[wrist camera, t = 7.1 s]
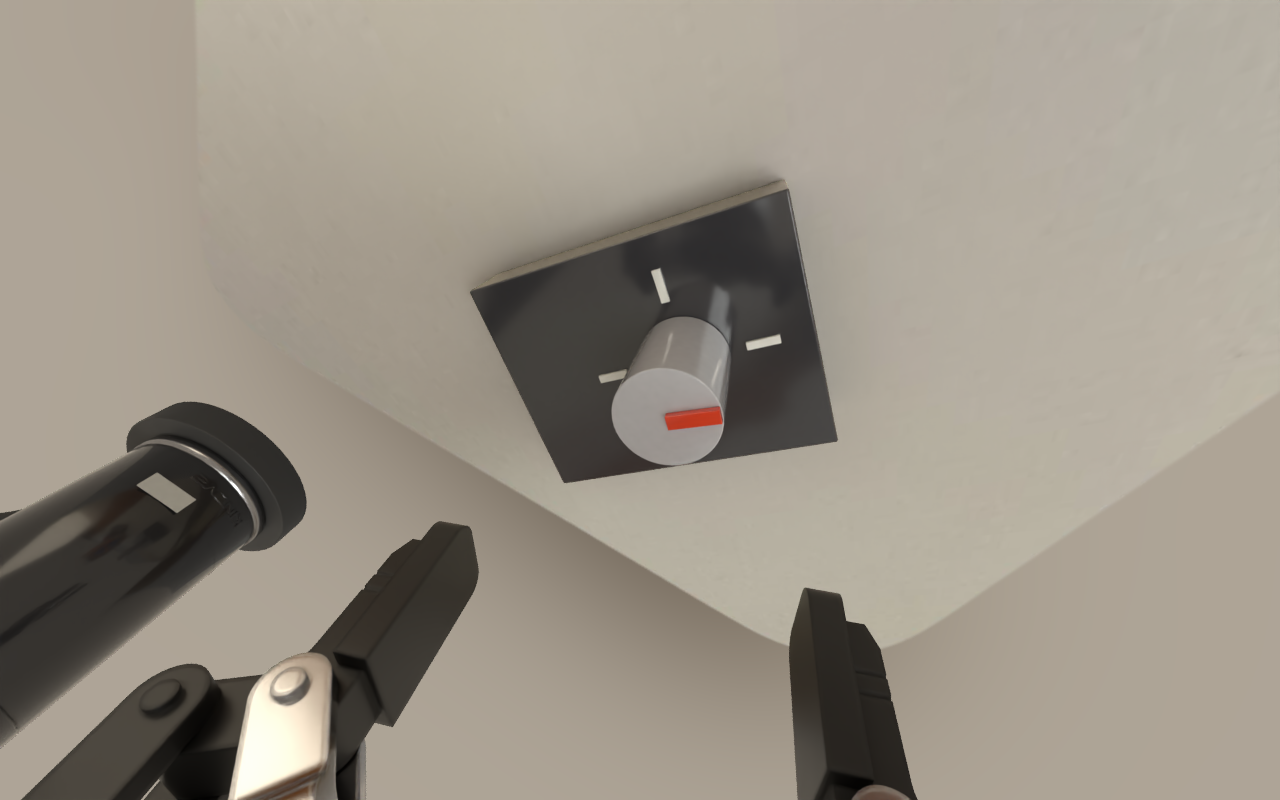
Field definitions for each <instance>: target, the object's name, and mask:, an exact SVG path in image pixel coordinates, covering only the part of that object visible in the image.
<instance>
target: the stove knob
mask: <svg viewBox="0 0 1280 800" xmlns="http://www.w3.org/2000/svg"><path fill="white" fill-rule="evenodd" d="M730 371H731V352H730V349H729V346H728V344H727V342H726V340H725V338H724V337H723V336H722V334H721V333H720V332H719V331H718V330H717V329H716V328H715V327H713V326H712V325H710V324H709V323H707V322H705V321H703V320H700V319H697V318H693V317H674V318H670V319H667V320H664V321H662V322H660V323H658V324H657V325H656V326H654V327H653V328H652V329H651V330H650V331H649V332H648V333H647V335H646V336H645V338H644V340H643V342H642V344H641V346H640V348H639V349H638V351H637V353H636V355H635V357H634V359H633V361H632V363H631V365H630V367H629V369H628V371H627V373H626V374H625V376H624V378H623V380H622V382H621V384H620V386H619V388H618V390H617V392H616V394H615V396H614V399H613V402H612V411H611V414H612V421H613V425H614V428H615V430H616V432H617V434H618V436H619V438H620V439H621V440H622V442H623V443H624V444H625V445H626V446H627V447H628V448H629V449H630V450H631V451H633V452H634V453H635V454H637V455H638V456H640V457H642V458H644V459H646V460H648V461H651V462H654V463H657V464H662V465H684V464H688V463H692V462H695V461H697V460H699V459H701V458H703V457H704V456H706V455H707V454H708V453H710V452H711V451H712V450H713V449H714V448H715V446H716V445H717V444H718V442H719V440H720V438H721V436H722V433H723V428H724V421H725V412H726V404H727V396H728V387H729V379H730Z"/></svg>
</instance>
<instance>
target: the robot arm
mask: <svg viewBox="0 0 1280 800" xmlns="http://www.w3.org/2000/svg"><path fill="white" fill-rule="evenodd" d="M265 522H266V516H265V511H264V507H263V505H262V502H261V500H260V498H259V496H258V495H257V493H256V491H255V490H254V488H253V487H252V486H251V484H250V483H249V482H248V481H247V479H246V478H245V477H244V476H243V475H242V474H241V473H240V472H239V471H238V470H237V469H236V468H235V467H234V466H233V465H231V464H230V463H229V462H228V461H227V460H225V459H224V458H223V457H221V456H220V455H218V454H217V453H215V452H214V451H212V450H210V449H209V448H207V447H205V446H203V445H201V444H199V443H197V442H195V441H192V440H189V439H186V438H183V437H179V436H173V435H160V436H156V437H153V438H151V439H149V440H147V441H145V442H144V443H142V444H140V445H138V446H136V447H135V448H134V449H133V450H132V451H130V452H128V453H127V454H125V455H123V456H121V457H119V458H117V459H115V460H113V461H112V462H110V463H108V464H106V465H104V466H102V467H101V468H99V469H97V470H95V471H93V472H91V473H89V474H87V475H85V476H83V477H81V478H79V479H78V480H76V481H74V482H72V483H70V484H68V485H66V486H65V487H63V488H61V489H59V490H57V491H55V492H53V493H52V494H50V495H48V496H46V497H44V498H42V499H40V500H39V501H37V502H35V503H33V504H31V505H29V506H27V507H26V508H24V509H21V510H17V511H12V512H5V513H0V749H1V748H2V747H3V746H4V745H6V744H7V743H8V742H9V741H10V740H12V739H13V738H14V737H15V736H16V734H18V733H19V732H21V731H22V730H23V729H24V728H25V727H26V726H28V725H29V724H30V723H31V722H33V721H34V720H35V719H36V718H37V717H39V716H40V715H41V714H42V713H43V712H45V711H46V710H47V709H48V708H49V707H50V706H52V705H53V704H54V703H55V702H56V701H58V700H59V699H60V698H61V697H63V696H64V695H65V694H66V693H67V692H68V691H70V690H71V689H72V688H73V687H75V686H76V685H77V684H78V683H79V682H81V681H82V680H83V679H84V678H85V677H87V676H88V675H89V674H90V673H91V672H92V671H94V670H95V669H96V668H97V667H98V666H99V665H101V664H102V663H103V662H104V661H106V660H107V659H108V658H109V657H110V656H112V655H113V654H114V653H115V652H116V651H118V650H119V649H120V648H121V647H122V646H124V645H125V644H126V643H127V642H128V641H130V640H131V639H132V638H133V637H134V636H136V635H137V634H138V633H139V632H140V631H142V630H143V629H144V628H145V627H146V626H148V625H149V624H150V623H151V622H152V621H154V620H155V619H156V618H157V617H158V616H160V615H161V614H162V613H163V612H164V611H166V610H167V609H168V608H169V607H170V606H172V605H173V604H174V603H175V602H176V601H177V600H179V599H180V598H181V597H182V596H184V595H185V594H186V593H187V592H188V591H190V590H191V589H192V588H193V587H194V586H196V584H198V583H199V582H200V581H202V580H203V579H204V578H205V577H206V576H207V575H209V574H210V573H211V572H213V571H214V570H215V569H216V568H217V567H218V566H220V565H221V564H222V563H223V562H224V561H226V560H227V559H228V558H229V557H231V556H232V555H233V554H234V553H235V552H236V551H238V550H239V549H240V548H241V547H242V546H245V545H247V544H248V543H249V542H251V541H252V540H253V539H254V538H255V537H257V536H258V535H259V534H260V533H261V532H262V531H263V529H264V527H265ZM478 573H479V571H478V563H477V558H476V552H475V547H474V542H473V536H472V531H471V529H470V527H468V526H464V525H459V524H453V523H447V522H442V521H439V522H437V523H435V524H434V525H433V526H432V527H431V529H430V530H429V531H428V532H427V534H426V535H425V536H424V537H423V539H422V540H415V539H412V540H411V541H409V542H408V543H407V544H405V545H404V546H402V547H401V548H399V549H398V550H396V551H395V552H393V553H392V554H391V555H390V557H389V558H388V559H387V560H386V561H385V562H384V564H383V565H382V566H381V567H380V568H379V570H378V572H377V574H376V575H374V576H373V577H372V578H371V579H370V580H369V581H368V583H367V584H366V585H365V588H364V590H361V591H360V592H359V593H358V595H357V596H356V597H355V598H354V599H353V601H352V602H351V603H350V604H349V605H348V607H347V608H346V609H345V610H344V611H343V612H342V614H341V615H340V616H339V617H338V618H337V620H336V621H335V622H334V623H333V624H332V625H331V627H330V628H329V629H328V630H327V631H326V633H325V634H324V635H323V636H322V637H321V639H320V640H319V641H318V642H317V643H316V645H314V647H313V648H312V649H311V650H310V651H309V652H307V653H301V654H297V655H294V656H291V657H289V658H286V659H285V660H283V661H281V662H279V663H278V664H276V665H274V666H273V667H272V668H270V669H269V670H268V671H267V672H266V673H265V674H263V675H256V676H247V677H239V678H230V679H222V680H214V679H213V677H212V676H211V674H210V673H209V671H208V670H207V669H206V668H205V667H203V666H202V665H198V664H184V665H179V666H176V667H173V668H170V669H167V670H165V671H162V672H160V673H159V674H157V675H155V676H153V677H151V678H150V679H148V680H147V681H145V682H144V683H142V684H141V685H140V686H138V687H137V688H136V689H135V690H134V691H133V692H132V693H131V694H129V696H127V697H126V698H125V699H124V700H123V701H122V702H121V703H120V704H119V705H118V706H117V707H116V708H115V709H114V710H113V711H112V712H111V713H110V714H109V715H108V716H107V717H106V718H105V719H104V720H103V721H102V722H101V723H100V724H99V725H98V726H97V727H96V728H95V729H93V730H92V731H91V732H90V734H88V735H87V736H86V737H85V738H84V740H82V741H81V742H80V743H79V744H78V745H77V746H76V747H75V748H74V749H73V750H72V751H71V752H70V753H69V754H68V755H67V756H66V757H65V758H64V759H63V760H62V761H61V762H60V763H59V764H58V765H56V766H55V767H54V769H52V770H51V771H50V772H49V773H48V774H47V775H46V776H45V777H44V778H43V779H42V780H41V781H40V782H39V783H38V784H37V785H36V786H35V787H34V788H33V789H32V790H31V791H30V792H29V793H28V794H27V795H26V796H25V797H24V798H23V799H22V800H141V799H142V798H143V796H144V795H145V794H146V793H147V792H148V791H149V789H150V788H151V787H152V786H153V785H154V783H155V782H156V781H157V780H158V779H159V780H160V781H159V783H158V784H157V785H156V786H155V787H154V789H153V790H152V791H151V792H150V793H149V794H148V795H147V797H146V798H145V799H144V800H366V745H365V739H364V738H365V737H366V735H367V734H368V732H369V730H370V729H371V727H372V726H373V724H374V723H378V724H382V725H386V726H391V727H393V726H394V724H395V722H396V721H397V719H398V718H399V716H400V714H401V712H402V711H403V709H404V707H405V706H406V704H407V703H408V701H409V699H410V698H411V696H412V694H413V692H414V691H415V689H416V687H417V686H418V684H419V682H420V681H421V679H422V677H423V676H424V674H425V672H426V670H427V669H428V667H429V666H430V664H431V662H432V661H433V659H434V657H435V656H436V654H437V652H438V651H439V649H440V647H441V646H442V644H443V642H444V640H445V639H446V637H447V636H448V634H449V632H450V631H451V629H452V627H453V626H454V624H455V622H456V621H457V619H458V617H459V616H460V614H461V612H462V611H463V609H464V607H465V606H466V604H467V602H468V601H469V599H470V597H471V595H472V594H473V592H474V590H475V587H476V584H477V580H478ZM789 663H790V680H791V695H792V713H793V729H794V745H795V762H796V777H797V795H798V800H917V797H916V795H915V793H914V790H913V786H912V783H911V779H910V774H909V770H908V766H907V762H906V757H905V753H904V749H903V744H902V740H901V736H900V732H899V727H898V723H897V719H896V715H895V710H894V707H893V702H892V701H891V693H890V689H889V685H888V680H887V679H886V672H885V668H884V663H883V660H882V655H881V650H880V648H879V646H878V645H877V643H876V642H875V640H874V638H873V637H872V635H871V634H870V632H869V631H868V629H867V628H866V626H865V625H864V624H859V623H854V622H848V621H846V617H845V612H844V606H843V601H842V598H841V595H840V594H838V593H832V592H827V591H821V590H816V589H810V588H804V589H803V592H802V595H801V599H800V602H799V606H798V609H797V613H796V616H795V620H794V623H793V627H792V631H791V636H790V646H789Z"/></svg>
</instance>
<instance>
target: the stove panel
mask: <svg viewBox="0 0 1280 800" xmlns="http://www.w3.org/2000/svg"><path fill="white" fill-rule="evenodd" d="M470 294H471V296H472V298H473V300H474V302H475V304H476V306H477V308H478V310H479V312H480V314H481V316H482V318H483V320H484V322H485V324H486V326H487V328H488V330H489V332H490V334H491V336H492V338H493V340H494V342H495V344H496V346H497V348H498V350H499V352H500V354H501V356H502V359H503V361H504V363H505V365H506V367H507V369H508V371H509V373H510V375H511V377H512V379H513V381H514V383H515V385H516V387H517V389H518V391H519V393H520V395H521V397H522V399H523V401H524V403H525V405H526V407H527V409H528V411H529V413H530V415H531V417H532V419H533V421H534V423H535V426H536V428H537V430H538V432H539V434H540V436H541V438H542V440H543V442H544V444H545V446H546V448H547V450H548V452H549V454H550V456H551V458H552V460H553V462H554V464H555V466H556V468H557V470H558V472H559V474H560V476H561V478H562V480H563V482H564V483H569V482H576V481H582V480H589V479H596V478H602V477H609V476H615V475H622V474H628V473H635V472H641V471H648V470H654V469H661V468H667V467H674V466H681V465H662V464H657V463H654V462H651V461H648V460H646V459H644V458H642V457H640V456H638V455H637V454H635V453H634V452H633V451H631V450H630V449H629V448H628V447H627V446H626V445H625V444H624V443H623V442H622V440H621V439H620V438H619V436H618V434H617V432H616V430H615V428H614V425H613V421H612V414H611V411H612V402H613V399H614V396H615V394H616V392H617V390H618V388H619V386H620V384H621V382H622V380H623V378H624V376H625V374H626V373H627V371H628V369H629V367H630V365H631V363H632V361H633V359H634V357H635V355H636V353H637V351H638V349H639V348H640V346H641V344H642V342H643V340H644V338H645V336H646V335H647V333H648V332H649V331H650V330H651V329H652V328H653V327H654V326H656V325H657V324H658V323H660V322H662V321H664V320H667V319H670V318H674V317H693V318H697V319H700V320H703V321H705V322H707V323H709V324H710V325H712V326H713V327H715V328H716V329H717V330H718V331H719V332H720V333H721V334H722V336H723V337H724V338H725V340H726V342H727V344H728V346H729V349H730V352H731V371H730V379H729V387H728V396H727V404H726V412H725V421H724V428H723V433H722V436H721V438H720V440H719V442H718V444H717V445H716V446H715V448H714V449H713V450H712V451H711V452H710V453H708V454H707V455H706V456H704V457H703V458H701V459H699V460H697V461H695V462H692V463H688V464H694V463H700V462H707V461H713V460H720V459H726V458H733V457H739V456H746V455H752V454H759V453H766V452H772V451H779V450H785V449H792V448H798V447H805V446H811V445H818V444H824V443H831V442H837V440H838V438H837V433H836V428H835V423H834V418H833V413H832V408H831V402H830V397H829V392H828V387H827V382H826V377H825V372H824V367H823V361H822V356H821V351H820V346H819V341H818V336H817V331H816V326H815V320H814V315H813V310H812V305H811V300H810V295H809V290H808V285H807V280H806V274H805V269H804V264H803V259H802V254H801V249H800V244H799V239H798V233H797V228H796V223H795V218H794V213H793V208H792V203H791V198H790V192H789V189H788V186H787V183H786V181H785V180H781V181H778V182H775V183H772V184H768V185H765V186H762V187H759V188H756V189H753V190H750V191H747V192H744V193H741V194H738V195H735V196H732V197H729V198H726V199H723V200H720V201H717V202H714V203H711V204H708V205H705V206H702V207H699V208H696V209H693V210H690V211H687V212H684V213H681V214H678V215H675V216H671V217H668V218H665V219H662V220H659V221H656V222H653V223H650V224H647V225H644V226H641V227H638V228H635V229H632V230H629V231H626V232H623V233H620V234H617V235H614V236H611V237H608V238H605V239H602V240H599V241H596V242H593V243H590V244H587V245H584V246H581V247H577V248H574V249H571V250H568V251H565V252H562V253H559V254H556V255H553V256H550V257H547V258H544V259H541V260H538V261H535V262H532V263H529V264H526V265H523V266H520V267H517V268H514V269H511V270H508V271H505V272H502V273H499V274H497V275H496V276H494V277H492V278H491V279H489V280H488V281H486V282H484V283H483V284H481V285H479V286H478V287H476V288H474V289H473V290H471V291H470ZM684 465H687V464H684Z"/></svg>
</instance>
